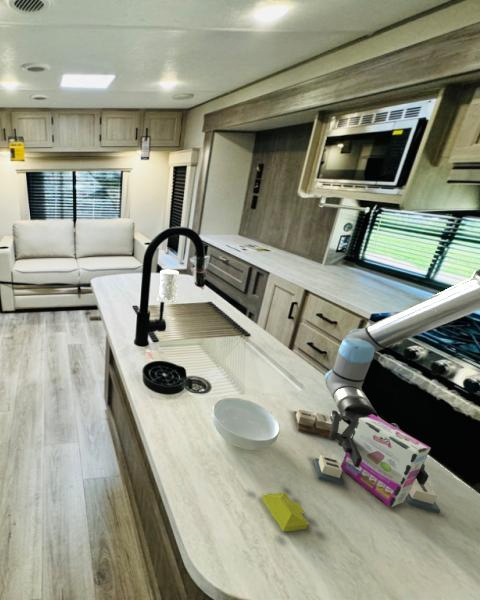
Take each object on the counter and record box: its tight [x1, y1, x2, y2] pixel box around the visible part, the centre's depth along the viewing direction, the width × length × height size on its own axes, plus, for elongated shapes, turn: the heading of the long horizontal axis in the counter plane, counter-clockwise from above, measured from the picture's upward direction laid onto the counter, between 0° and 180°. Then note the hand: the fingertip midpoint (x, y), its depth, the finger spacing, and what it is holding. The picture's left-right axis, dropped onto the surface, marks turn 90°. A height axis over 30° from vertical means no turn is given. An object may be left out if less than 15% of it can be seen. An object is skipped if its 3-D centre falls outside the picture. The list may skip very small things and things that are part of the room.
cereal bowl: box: [211, 397, 281, 451], centre depth 89 cm, size 17×17×7 cm
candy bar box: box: [340, 414, 432, 509], centre depth 72 cm, size 11×5×16 cm, turn 17°
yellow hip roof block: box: [256, 489, 322, 541], centre depth 69 cm, size 10×9×3 cm
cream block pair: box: [292, 408, 332, 439], centre depth 92 cm, size 9×8×4 cm
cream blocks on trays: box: [312, 454, 441, 514], centre depth 75 cm, size 22×6×4 cm, turn 66°
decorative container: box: [157, 268, 180, 304], centre depth 189 cm, size 12×12×18 cm
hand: (390, 471), depth 68 cm, fingers closed on candy bar box, 10 cm apart
